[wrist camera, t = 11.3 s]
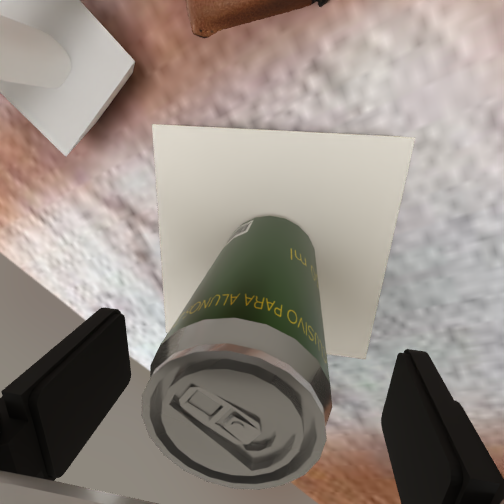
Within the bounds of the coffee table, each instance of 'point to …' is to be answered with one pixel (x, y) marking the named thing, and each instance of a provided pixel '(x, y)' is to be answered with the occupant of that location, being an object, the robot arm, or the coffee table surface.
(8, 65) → the figurine
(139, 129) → the coffee table surface
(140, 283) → the coffee table surface
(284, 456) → the beer can
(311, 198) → the riser block
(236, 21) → the sunglasses case
